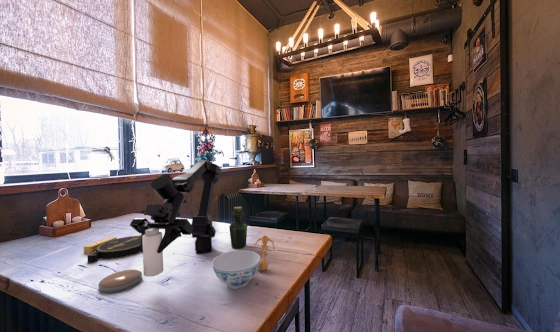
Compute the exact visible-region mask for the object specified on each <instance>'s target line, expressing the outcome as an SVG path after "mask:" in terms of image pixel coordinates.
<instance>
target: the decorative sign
mask: <svg viewBox="0 0 560 332" xmlns="http://www.w3.org/2000/svg"><path fill="white" fill-rule="evenodd" d="M140 246H141V234H140V235H130V236H124V237H119V238H118V237H116V236H109V237H106V238H102V239H100V240H98V241H94V242H92V243H88V244H85V245H84V246H83V253H84V254H87V263H88V264H92V263H93V262H94V263H97V262H98V261H99V260H101V259H100V258H102V260H103V259H104V260H110V259H111V260H112V259H121V258H125V257H129V256H132V255H135V254H139V253H141V252H140ZM95 251H96V252H95ZM93 252H94V253H93ZM89 262H90V263H89Z"/></svg>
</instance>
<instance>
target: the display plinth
mask: <svg viewBox="0 0 560 332" xmlns="http://www.w3.org/2000/svg"><path fill="white" fill-rule="evenodd" d="M142 280H143V273H142V271H140V270H138V269H126V270H121V271H117V272H114V273H112V274H109V275H106V276H105V277H104V278H102V279H101V280H100V281H99V283H98V292H100V293H102V294H115V293H119V292H122V291H126V290H129V289H131V288H134V287H135V286H137V285H138V284H139V283H141V282H142Z"/></svg>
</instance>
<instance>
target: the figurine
mask: <svg viewBox="0 0 560 332" xmlns="http://www.w3.org/2000/svg"><path fill="white" fill-rule="evenodd" d="M260 241H261V243H262V244H261V245H260V250H259V253H260V254H261V256H260V263H259V267H258V270H259V271H261V272H264V271H266V270H268V267H269V262H268V260H267V259H266V258H267V254H268V253H267V252H268V248H269V245H268V242H271V243H272V249H273V251H275V250H276V249H275V244H274V241H273V240H272V239H271V238H269V236H268V235H264V234H263V235H262V237H260V238H257V240H256V242H255V243H254V245H253V248H255V247H256V245H257V244H258V242H260ZM263 251H264V253H263ZM263 254H264V258H263Z"/></svg>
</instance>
